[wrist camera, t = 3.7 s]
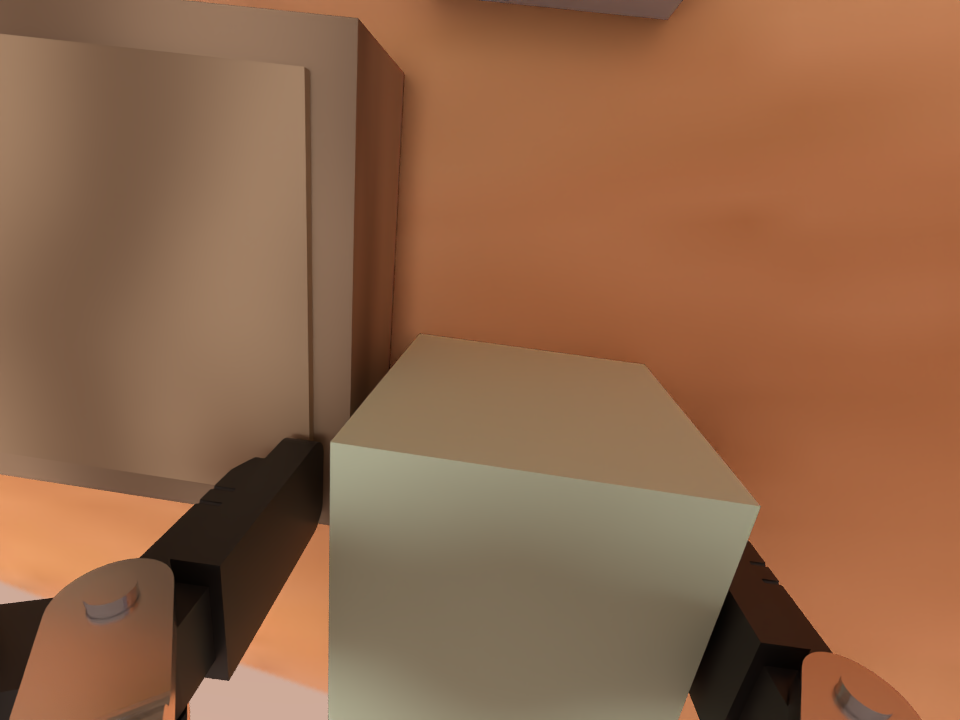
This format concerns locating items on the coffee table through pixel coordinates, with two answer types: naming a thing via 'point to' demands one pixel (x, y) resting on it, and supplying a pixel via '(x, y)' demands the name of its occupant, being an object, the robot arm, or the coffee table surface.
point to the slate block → (609, 6)
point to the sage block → (524, 540)
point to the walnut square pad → (189, 237)
